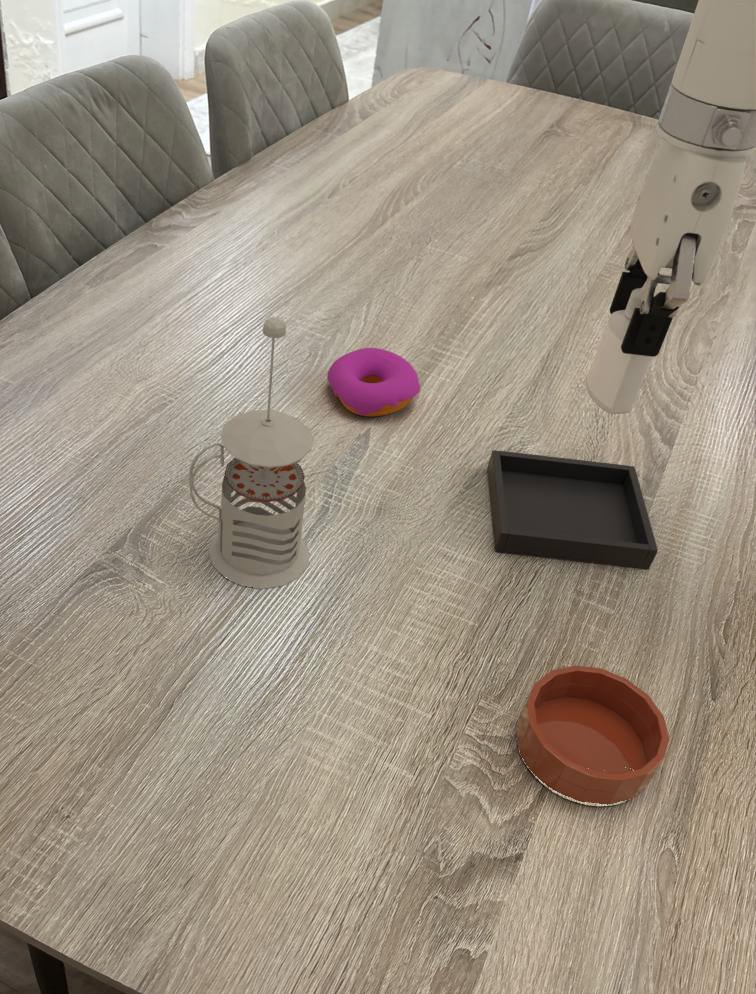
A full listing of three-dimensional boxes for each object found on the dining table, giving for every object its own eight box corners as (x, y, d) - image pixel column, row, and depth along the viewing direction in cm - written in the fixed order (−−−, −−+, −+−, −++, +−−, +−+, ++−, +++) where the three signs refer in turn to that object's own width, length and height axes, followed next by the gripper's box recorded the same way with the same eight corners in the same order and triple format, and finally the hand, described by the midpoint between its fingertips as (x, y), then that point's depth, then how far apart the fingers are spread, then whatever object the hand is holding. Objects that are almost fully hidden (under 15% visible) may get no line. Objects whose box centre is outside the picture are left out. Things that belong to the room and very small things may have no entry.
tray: (626, 484, 104) (634, 466, 102) (649, 569, 94) (658, 550, 92) (486, 468, 104) (492, 449, 102) (495, 552, 94) (501, 532, 92)
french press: (313, 589, 88) (344, 354, 70) (189, 588, 87) (187, 349, 69) (305, 519, 95) (331, 290, 77) (190, 518, 94) (188, 284, 76)
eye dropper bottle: (582, 410, 87) (625, 289, 78) (585, 378, 91) (626, 260, 82) (629, 420, 86) (678, 300, 78) (631, 388, 90) (677, 270, 81)
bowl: (637, 703, 82) (654, 673, 79) (662, 815, 74) (681, 787, 71) (510, 688, 82) (522, 658, 79) (521, 799, 74) (534, 770, 71)
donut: (316, 378, 113) (320, 344, 110) (394, 370, 116) (400, 337, 113) (345, 428, 107) (350, 394, 103) (427, 418, 109) (434, 384, 106)
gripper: (794, 169, 65) (694, 393, 78) (733, 87, 77) (655, 292, 90) (686, 156, 65) (604, 382, 78) (642, 76, 77) (577, 283, 90)
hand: (632, 332), depth 83 cm, fingers closed on eye dropper bottle, 5 cm apart
